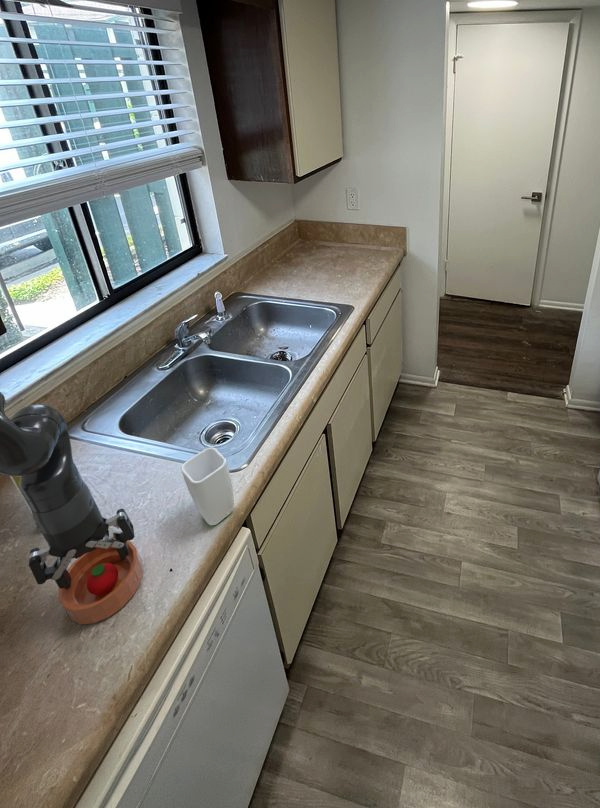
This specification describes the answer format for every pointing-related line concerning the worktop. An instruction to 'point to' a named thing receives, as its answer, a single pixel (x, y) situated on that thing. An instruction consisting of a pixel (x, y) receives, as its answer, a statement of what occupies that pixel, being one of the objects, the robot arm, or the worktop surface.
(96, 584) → the tomato
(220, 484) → the cup
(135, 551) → the bowl
